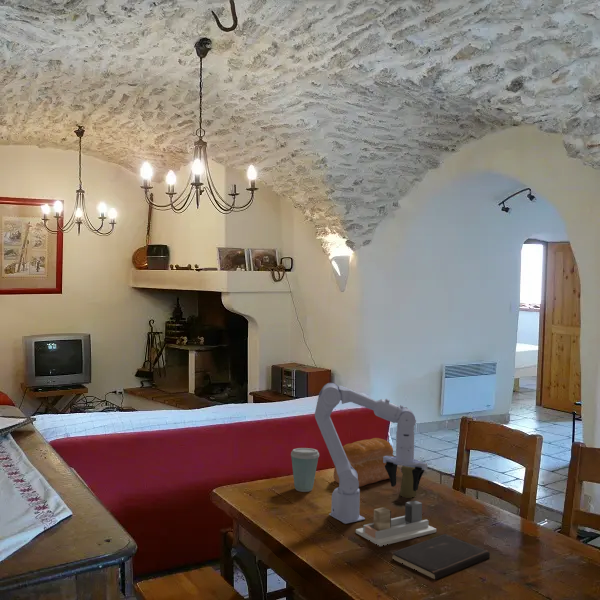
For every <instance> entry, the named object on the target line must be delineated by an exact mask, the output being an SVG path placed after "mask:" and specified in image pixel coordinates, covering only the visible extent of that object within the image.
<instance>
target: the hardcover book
mask: <svg viewBox="0 0 600 600" xmlns="http://www.w3.org/2000/svg"><path fill="white" fill-rule="evenodd" d="M390 554H391V556H392V557H391V558H392V560H393V559H394V561H396V562H398V563H400V564H402V563H403V564H402V565H403V566H406V567H408V568H410V569H413V570H414V569H415V570H414V571H416V570H417V572H419V573H421V574H423V575H425V576H427V577H429V578H431V579H433V580H438V579H441V578H443V577H446V576H448V575H450V574H453V573H455V572H458V571H461V570H463V569H465V568H467V567H470V566H473V565H475V564H477V563H480V562H482V561H485V560H487V559H490V558H491V557H490V555H491V554H490V551H488V550H487V549H485V548H482V547H479V546H478V545H477V546H476V545H475V544H472V543H469V542H467V541H465V540H462V539H460V538H457V537H454V536H452V535H449V534H447V533H444V534H441V535H437V536H435V537H432V538H429V539H426V540H424V541H420V542H418V543H416V544H412V545H410V546H407V547H404V548H401V549H398V550H396V551H392V552H390Z"/></svg>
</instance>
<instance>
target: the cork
mask: <svg viewBox="0 0 600 600" xmlns="http://www.w3.org/2000/svg"><path fill="white" fill-rule="evenodd" d="M413 469H415V468H414V467H408V466H402V465H401V467H400V471H401V474H402V475H401V482H400V490H399V496H400V497H401V496H402V497H401V498H404V497H406V499H413V498H412V497H414V498H416V497H417V496H416V495H417V490H416V491H413V474H412V470H413ZM415 496H416V497H415Z"/></svg>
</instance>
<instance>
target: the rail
mask: <svg viewBox="0 0 600 600" xmlns="http://www.w3.org/2000/svg"><path fill="white" fill-rule="evenodd" d="M429 523H430V522H429V520H428V519H423V502H420V501H418V500H411V501H407V502H405V506H404V515H402V516H401V515H400V516H396V517H393V518H392V517H391V528H389V529H385V530H380V531H377V530H375V529H374V522H370V523H367V524H363V525H362V527H359V528H356V529H355V533H356V534H357V535H359V536H361V537H362V538H364V539H366V540H367V541H369V540H370V541H369V542H371V543H373V544H375V545H376V544H377V546H378V545H379V546H378V547H383V545H384V546H388V545H391V544H395V543H400V542H403V541H406V540H411V539H414V538H417V537H423V536H426V535H431V534H435V533H437V528H435V527H433V526H432V525H429ZM387 544H388V545H387Z"/></svg>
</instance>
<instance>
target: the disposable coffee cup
mask: <svg viewBox="0 0 600 600" xmlns="http://www.w3.org/2000/svg"><path fill="white" fill-rule="evenodd" d="M290 457H291V465H292V467H291V468H292V477H293V485H294V488H295V491H298V492H303V493H306V492H307V493H308V492H311V491H312V490H313V488H314V483H315V477H316V473H317V466H318V461H319V457H320V452H319V450H318V449H315V448H312V447H310V448H308V447H297V448H293V449H292V450H291V452H290Z"/></svg>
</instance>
